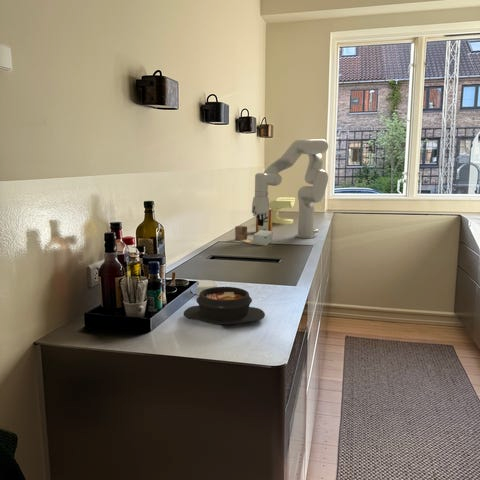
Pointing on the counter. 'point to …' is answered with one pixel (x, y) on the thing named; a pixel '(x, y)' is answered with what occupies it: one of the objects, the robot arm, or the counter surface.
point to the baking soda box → (266, 222)
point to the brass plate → (247, 241)
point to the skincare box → (263, 237)
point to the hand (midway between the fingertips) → (260, 225)
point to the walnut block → (241, 233)
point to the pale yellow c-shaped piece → (278, 204)
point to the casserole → (224, 307)
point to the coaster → (205, 285)
